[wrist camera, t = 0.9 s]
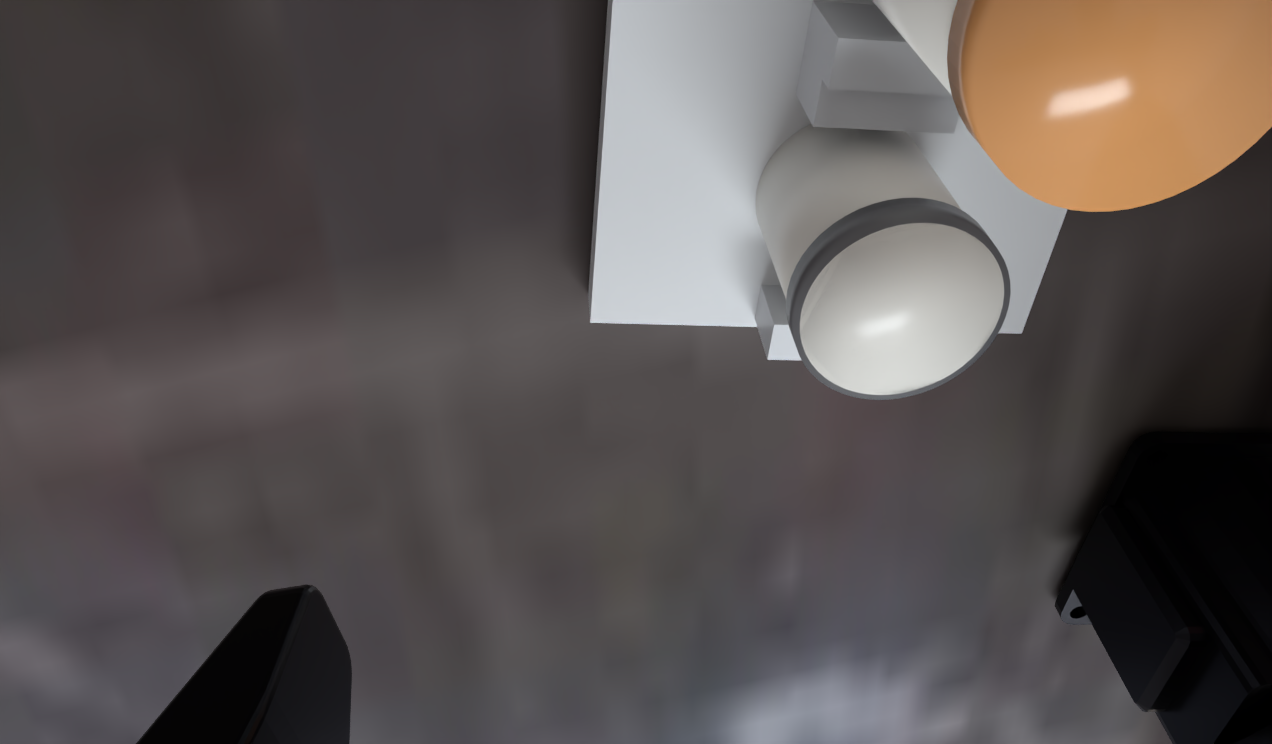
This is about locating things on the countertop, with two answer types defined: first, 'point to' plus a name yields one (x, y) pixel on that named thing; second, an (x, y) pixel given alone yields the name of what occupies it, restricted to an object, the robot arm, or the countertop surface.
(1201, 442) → the robot arm
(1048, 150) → the cylinder
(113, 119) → the countertop surface
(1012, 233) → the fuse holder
